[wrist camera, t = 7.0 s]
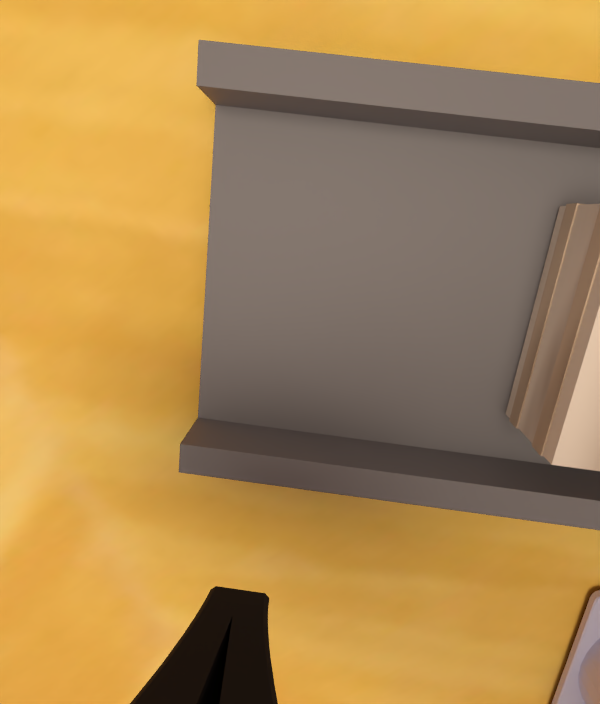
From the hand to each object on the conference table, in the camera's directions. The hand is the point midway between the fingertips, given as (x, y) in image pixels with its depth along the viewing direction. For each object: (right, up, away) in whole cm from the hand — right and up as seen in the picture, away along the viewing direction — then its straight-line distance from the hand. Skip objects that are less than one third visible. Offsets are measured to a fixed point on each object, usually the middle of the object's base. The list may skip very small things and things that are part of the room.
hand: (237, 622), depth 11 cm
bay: (+8, +8, +7) cm, 14 cm away
